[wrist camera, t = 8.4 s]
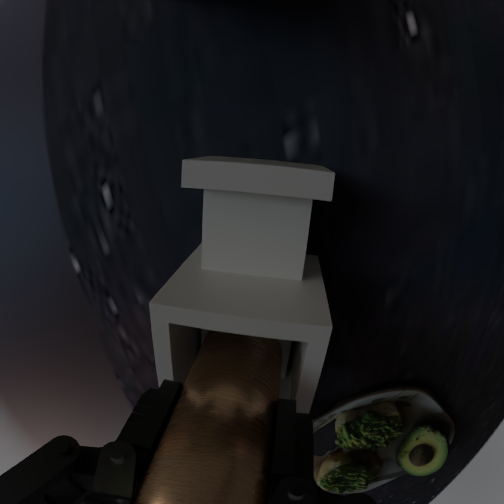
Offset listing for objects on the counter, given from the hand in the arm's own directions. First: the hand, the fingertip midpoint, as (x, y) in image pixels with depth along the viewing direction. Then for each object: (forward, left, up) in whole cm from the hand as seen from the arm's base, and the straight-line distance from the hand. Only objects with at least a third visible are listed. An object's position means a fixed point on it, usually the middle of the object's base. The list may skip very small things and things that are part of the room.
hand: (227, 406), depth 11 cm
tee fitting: (0, 0, -9) cm, 9 cm away
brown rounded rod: (0, 0, -4) cm, 4 cm away
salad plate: (-13, +15, -10) cm, 22 cm away
